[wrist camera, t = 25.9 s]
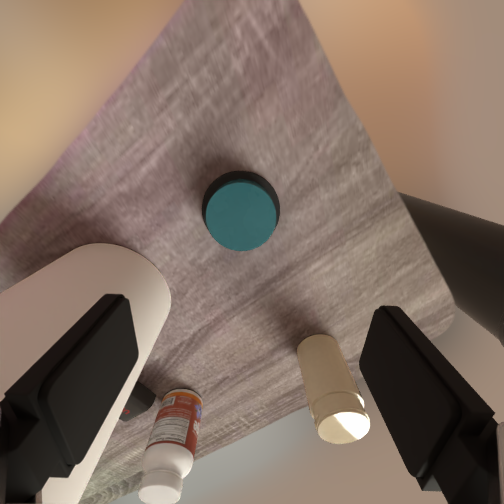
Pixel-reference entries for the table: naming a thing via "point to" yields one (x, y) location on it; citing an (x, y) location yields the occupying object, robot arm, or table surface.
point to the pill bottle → (171, 447)
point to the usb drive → (137, 402)
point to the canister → (66, 315)
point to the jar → (331, 391)
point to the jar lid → (241, 215)
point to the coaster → (240, 175)
